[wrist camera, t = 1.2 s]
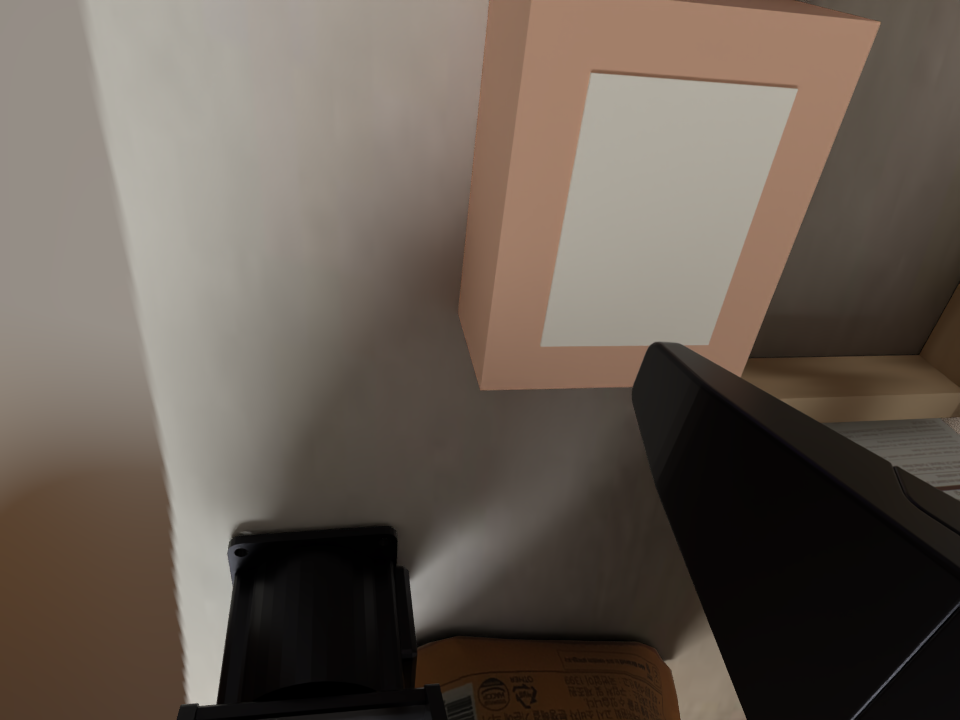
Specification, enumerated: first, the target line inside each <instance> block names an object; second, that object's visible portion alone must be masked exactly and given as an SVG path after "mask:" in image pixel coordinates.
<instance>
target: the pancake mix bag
mask: <svg viewBox="0 0 960 720" xmlns="http://www.w3.org/2000/svg"><path fill="white" fill-rule="evenodd" d="M438 683H439V684H440V688H441V693H442V697H443V701H444V706H445V710H446V714H447V718H448V720H680V713H679V706H678V699H677V694H676V689H675V685H674V680H673V676H672V671H671V669H670V668H669V667H668V666H667V665H666V663H665V662H664V661H663V660H662V659H661V657H660V655H659V654H658V652H657V650H656V649H655V648H653V647H650V646H648V645H645V644H642V643H639V642H610V641H572V640H520V639H500V638H485V637H469V636H455V637H451V638H447V639H443V640H438V641H434V642H430V643H427V644H425V645H422V646H420V647H418V648H417V665H416V678H415V688H422V687H424V685H426V684H438Z"/></svg>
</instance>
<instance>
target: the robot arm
mask: <svg viewBox="0 0 960 720" xmlns="http://www.w3.org/2000/svg"><path fill="white" fill-rule="evenodd" d="M632 402H633V406H634V410H635V414H636V417H637V421H638V425H639V429H640V432H641V436H642V440H643V444H644V447H645V451H646V455H647V458H648V462H649V466H650V470H651V473H652V476H653V480H654V483H655V486H656V489H657V492H658V494H659V497H660V500H661V503H662V505H663V508H664V510H665V513H666V515H667V518H668V520H669V523H670V525H671V528H672V530H673V533H674V536H675V538H676V541H677V543H678V546H679V548H680V551H681V553H682V556H683V558H684V561H685V564H686V566H687V569H688V571H689V574H690V576H691V579H692V581H693V584H694V586H695V589H696V591H697V594H698V597H699V599H700V602H701V604H702V607H703V609H704V612H705V614H706V617H707V619H708V622H709V625H710V627H711V630H712V632H713V635H714V637H715V640H716V642H717V645H718V647H719V650H720V652H721V655H722V658H723V660H724V663H725V665H726V668H727V670H728V673H729V675H730V678H731V680H732V683H733V686H734V688H735V691H736V693H737V696H738V698H739V701H740V703H741V706H742V708H743V711H744V713H745V716H746V719H747V720H960V501H959V500H958V499H956V498H954V497H952V496H950V495H948V494H947V493H945V492H943V491H941V490H939V489H938V488H936V487H934V486H932V485H930V484H928V483H927V482H925V481H923V480H921V479H919V478H918V477H916V476H914V475H912V474H911V473H909V472H907V471H905V470H903V469H902V468H900V467H898V466H892V464H891V462H889V461H887V460H886V459H884V458H882V457H880V456H878V455H877V454H875V453H873V452H871V451H870V450H868V449H866V448H864V447H863V446H861V445H859V444H857V443H855V442H854V441H852V440H850V439H848V438H847V437H845V436H843V435H841V434H840V433H838V432H836V431H834V430H832V429H831V428H829V427H827V426H825V425H824V424H822V423H820V422H818V421H817V420H815V419H813V418H811V417H809V416H808V415H806V414H804V413H802V412H801V411H799V410H797V409H795V408H794V407H792V406H790V405H788V404H786V403H785V402H783V401H781V400H779V399H778V398H776V397H774V396H772V395H771V394H769V393H767V392H765V391H763V390H762V389H760V388H758V387H756V386H755V385H753V384H751V383H749V382H748V381H746V380H744V379H742V378H740V377H739V376H737V375H735V374H733V373H732V372H730V371H728V370H726V369H725V368H723V367H721V366H719V365H717V364H716V363H714V362H712V361H710V360H709V359H707V358H705V357H703V356H702V355H700V354H698V353H696V352H694V351H693V350H691V349H689V348H687V347H686V346H684V345H682V344H680V343H675V342H654V343H652V344H651V345H650V346H649V347H648V349H647V351H646V353H645V356H644V358H643V361H642V363H641V366H640V368H639V371H638V374H637V376H636V379H635V381H634V384H633V388H632ZM383 538H386V539H383ZM397 542H398V541H397V533H396V530H395V529H394V528H392V527H390V526H378V527H364V528H349V529H334V530H319V531H304V532H289V533H274V534H260V535H245V536H237V537H234V538H233V539H231V540H230V542H229V546H228V553H227V554H228V560H229V566H230V572H231V578H232V584H233V591H232V598H231V605H230V612H229V619H228V626H227V633H226V640H225V647H224V654H223V661H222V668H221V675H220V683H219V690H218V697H217V704H216V705H206V706H199V704H198V703H195V704H183V705H181V706H180V709H179V713H178V716H177V720H448V718H447V714H446V710H445V706H444V701H443V697H442V693H441V688H440V684H439V683H438V684H426V685H424V687H422V688H415V678H416V665H417V645H416V636H415V627H414V618H413V609H412V600H411V591H410V581H409V572H408V570H407V569H406V568H405V567H404V566H396V564H397ZM239 548H244V549H239Z"/></svg>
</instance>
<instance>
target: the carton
mask: <svg viewBox="0 0 960 720" xmlns="http://www.w3.org/2000/svg"><path fill="white" fill-rule="evenodd" d="M880 24H881V22H879V21H875V20H871V19H867V18H863V17H859V16H855V15H851V14H847V13H843V12H839V11H835V10H831V9H827V8H823V7H819V6H815V5H811V4H807V3H803V2H799V1H795V0H489V9H488V19H487V29H486V39H485V49H484V59H483V69H482V78H481V88H480V98H479V108H478V118H477V128H476V138H475V148H474V158H473V168H472V178H471V188H470V198H469V208H468V218H467V228H466V238H465V248H464V258H463V268H462V278H461V288H460V297H459V307H458V315H459V319H460V322H461V326H462V329H463V333H464V336H465V339H466V343H467V346H468V350H469V353H470V357H471V360H472V364H473V367H474V371H475V374H476V377H477V381H478V384H479V388H480V390H523V389H567V388H611V387H633V384H634V381H635V379H636V376H637V374H638V371H639V368H640V366H641V363H642V361H643V358H644V356H645V353H646V351H647V349H648V347H649V346H650V345H651V344H652V343H654V342H675V343H680V344H682V345H684V346H686V347H687V348H689V349H691V350H693V351H694V352H696V353H698V354H700V355H702V356H703V357H705V358H707V359H709V360H710V361H712V362H714V363H716V364H717V365H719V366H721V367H723V368H725V369H726V370H728V371H730V372H732V373H733V374H735V375H737V376H739V377H740V378H741V375H742V373H743V370H744V367H745V365H746V362H747V360H748V357H749V355H750V352H751V350H752V347H753V345H754V342H755V340H756V337H757V335H758V332H759V330H760V327H761V325H762V322H763V319H764V317H765V314H766V312H767V309H768V307H769V304H770V302H771V299H772V297H773V294H774V292H775V289H776V287H777V284H778V282H779V279H780V277H781V274H782V271H783V269H784V266H785V264H786V261H787V259H788V256H789V254H790V251H791V249H792V246H793V244H794V241H795V239H796V236H797V234H798V231H799V229H800V226H801V223H802V221H803V218H804V216H805V213H806V211H807V208H808V206H809V203H810V201H811V198H812V196H813V193H814V191H815V188H816V186H817V183H818V181H819V178H820V175H821V173H822V170H823V168H824V165H825V163H826V160H827V158H828V155H829V153H830V150H831V148H832V145H833V143H834V140H835V138H836V135H837V132H838V130H839V127H840V125H841V122H842V120H843V117H844V115H845V112H846V110H847V107H848V105H849V102H850V100H851V97H852V95H853V92H854V90H855V87H856V84H857V82H858V79H859V77H860V74H861V72H862V69H863V67H864V64H865V62H866V59H867V57H868V54H869V52H870V49H871V47H872V44H873V42H874V39H875V36H876V34H877V31H878V29H879V26H880Z"/></svg>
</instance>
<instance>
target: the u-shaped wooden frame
mask: <svg viewBox="0 0 960 720" xmlns="http://www.w3.org/2000/svg"><path fill="white" fill-rule="evenodd" d="M741 378H742V379H744V380H746V381H748V382H749V383H751V384H753V385H755V386H756V387H758V388H760V389H762V390H763V391H765V392H767V393H769V394H771V395H772V396H774V397H776V398H778V399H779V400H781V401H783V402H785V403H786V404H788V405H790V406H792V407H794V408H795V409H797V410H799V411H801V412H802V413H804V414H806V415H808V416H809V417H811V418H813V419H815V420H817V421H818V422H820V423H833V422H856V421H880V420H904V419H927V418H951V417H960V283H959V285H958V287H957V288H956V290H955V292H954V294H953V296H952V297H951V299H950V301H949V303H948V304H947V306H946V308H945V310H944V312H943V313H942V315H941V317H940V319H939V321H938V322H937V324H936V326H935V328H934V329H933V331H932V333H931V335H930V337H929V338H928V340H927V342H926V344H925V345H924V347H923V349H922V351H921V353H920V354H919V355H894V356H844V357H794V358H748V360H747V362H746V365H745V367H744V370H743V373H742V375H741Z"/></svg>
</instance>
